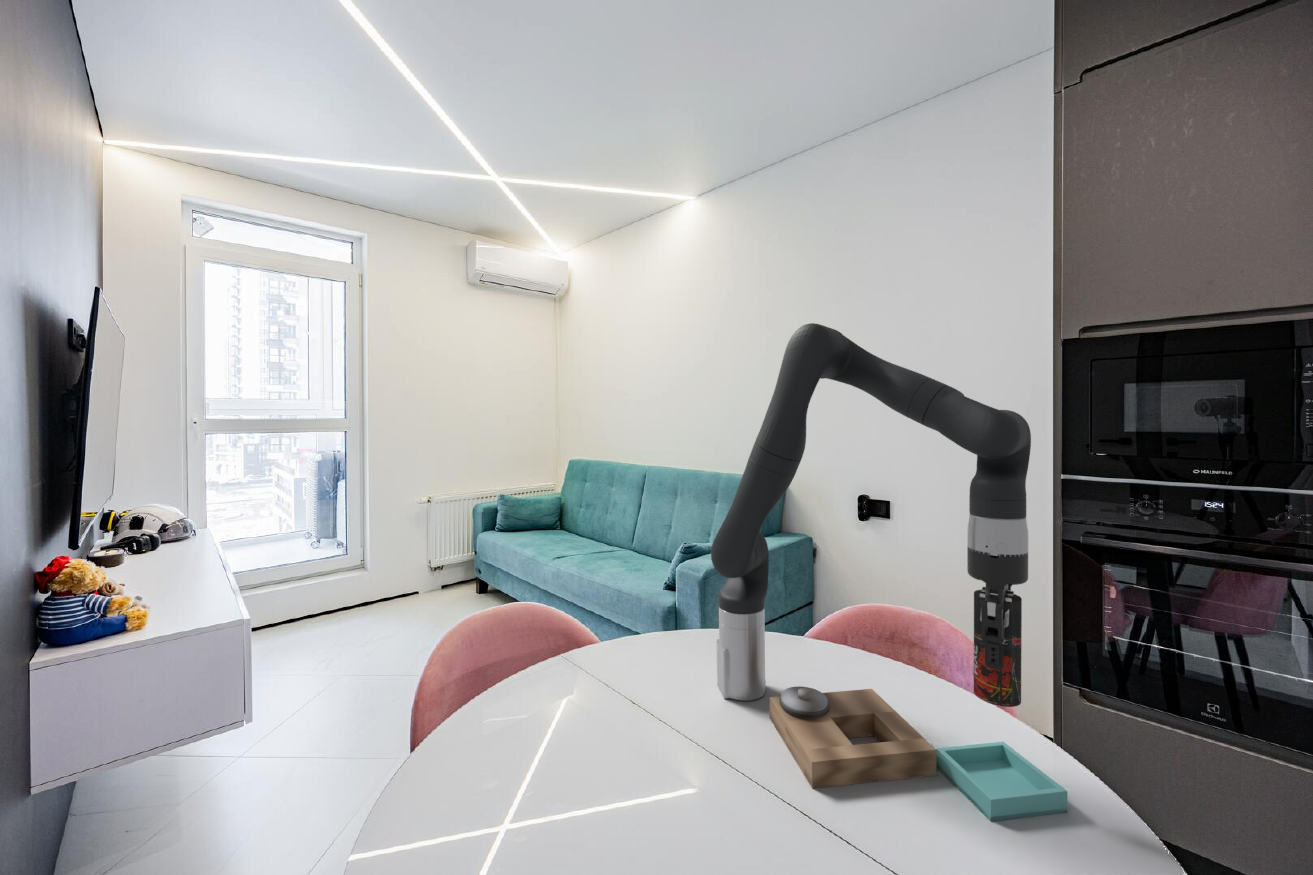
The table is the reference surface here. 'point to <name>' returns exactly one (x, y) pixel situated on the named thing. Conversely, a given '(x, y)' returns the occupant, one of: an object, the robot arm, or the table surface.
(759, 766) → the table surface
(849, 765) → the block
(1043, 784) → the tray
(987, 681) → the deodorant
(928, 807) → the table surface
